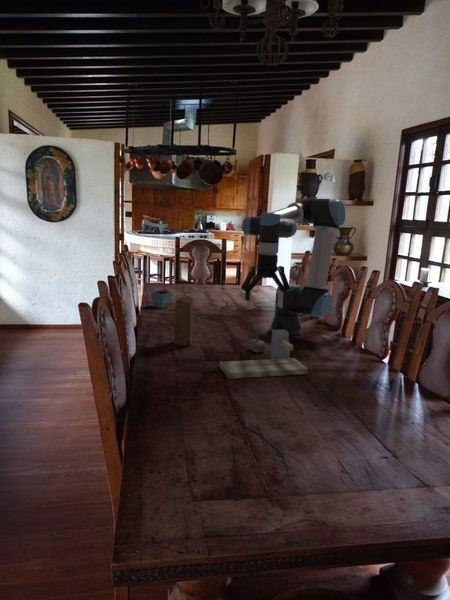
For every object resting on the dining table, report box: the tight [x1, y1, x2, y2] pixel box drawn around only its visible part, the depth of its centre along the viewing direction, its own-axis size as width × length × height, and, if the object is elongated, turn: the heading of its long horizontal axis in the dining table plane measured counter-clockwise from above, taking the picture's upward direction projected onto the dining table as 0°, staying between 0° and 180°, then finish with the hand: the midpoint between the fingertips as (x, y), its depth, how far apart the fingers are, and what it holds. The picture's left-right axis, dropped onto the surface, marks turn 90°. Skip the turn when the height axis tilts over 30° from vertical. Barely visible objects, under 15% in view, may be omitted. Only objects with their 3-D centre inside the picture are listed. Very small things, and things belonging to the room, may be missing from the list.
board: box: [219, 357, 309, 379], centre depth 167 cm, size 30×12×2 cm, turn 105°
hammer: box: [270, 329, 294, 362], centre depth 174 cm, size 5×13×12 cm, turn 15°
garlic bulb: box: [249, 331, 266, 353], centre depth 190 cm, size 8×7×8 cm
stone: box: [173, 296, 194, 347], centre depth 194 cm, size 11×8×20 cm
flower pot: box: [150, 289, 173, 309], centre depth 263 cm, size 9×9×9 cm
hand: (264, 308), depth 178 cm, fingers open, 13 cm apart
